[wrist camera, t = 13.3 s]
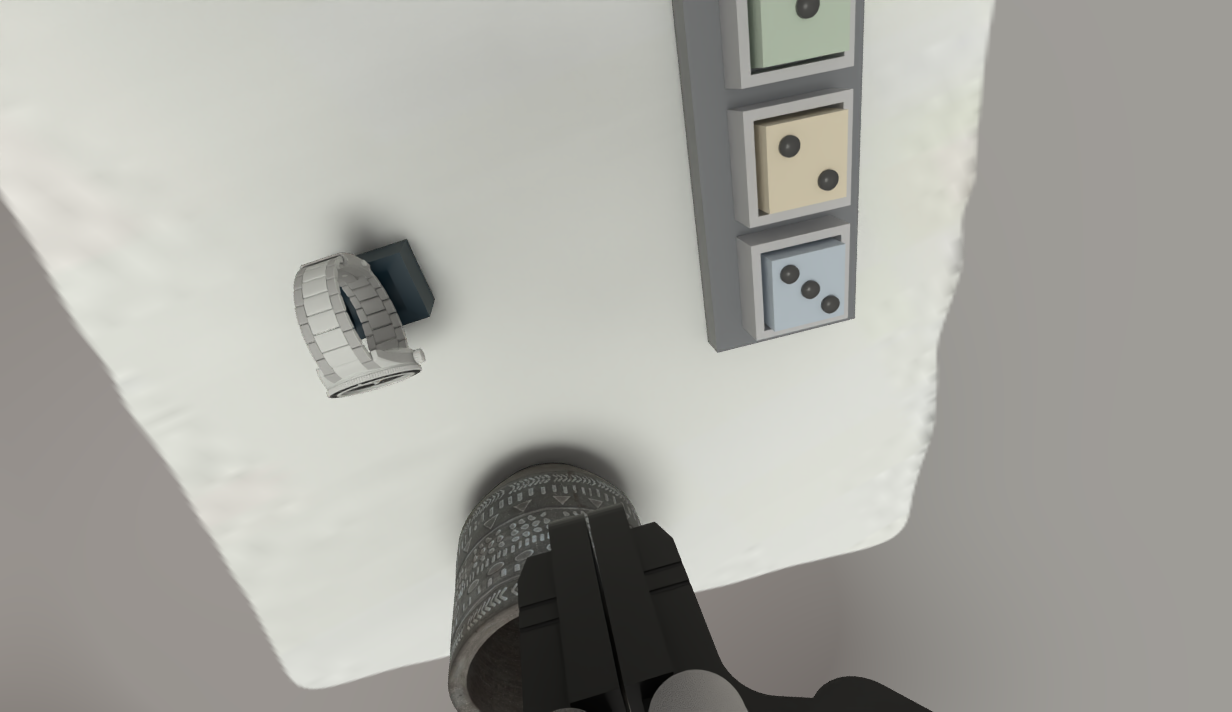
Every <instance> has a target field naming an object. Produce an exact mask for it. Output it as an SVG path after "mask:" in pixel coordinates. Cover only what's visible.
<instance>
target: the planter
mask: <svg viewBox="0 0 1232 712" xmlns="http://www.w3.org/2000/svg"><path fill="white" fill-rule="evenodd" d="M618 503H622V504H623V507H624V510H625V513H626V516H627V520H628V523H629V526H630V529H631V528H634V527H638V526H641V524H640V521H639V519H638V516H637V513H636V511H635V509H634V507H633V505H632V503H631V502H630V501H629V499H628V498H627V497H626V496H625V495H624V494H623V493H622V492H621V491H620V490H619V489H618V488H617V487H615V486H614V485H612V484H611V483H609V482H608V481H606V480H604V479H603V478H601V477H599V476H597V475H595V474H593V473H591V472H588V471H586V470H583V469H580V468H577V467H574V466H571V465H567V464H561V463H545V464H538V465H534V466H531V467H527V468H525V469H523V470H520V471H518V472H517V473H515V474H513V475H512V476H510V477H509V478H507V479H506V480H504V481H503V482H502V483H500V484H499V485H498V486H497V487H495V488H494V489H493V490H492V491H491V492H490V493H489V494H488V495H486V496H485V497H484V498H483V499H482V500H481V502H480V503H479V504H478V505H477V506H476V507H475V508H474V510H473V511H472V512H471V514H470V515H469V517H468V518H467V520H466V522H465V524H464V526H463V528H462V531H461V534H460V538H459V544H458V552H457V561H456V584H455V597H454V608H453V620H452V633H451V648H450V664H449V676H448V689H449V694H450V698H451V701H452V703H453V705H454V707H455V708H456V710H457V711H458V712H523V697H522V676H521V654H520V629H519V608H518V588H517V581H518V579H519V576H520V574H521V571H522V569H523V566H524V564H525V561H526V559H527V557H530V556H534V555H538V554H541V553H545V552H548V551H551V547H550V539H549V530H548V523H549V522H553V521H556V520H560V519H564V518H567V517H571V516H575V515H578V514H582V513H584V515H585V518H586V522H587V526H588V529H589V533H590V537H591V541H592V544H593V548H594V543H593V538H592V534H591V529H590V524H589V520H588V515H587V512H589V511H592V510H596V509H600V508H603V507H607V506H611V505H614V504H618ZM594 552H595V548H594ZM595 556H596V552H595ZM596 559H597V557H596ZM597 563H598V562H597ZM598 567H599V566H598ZM628 703H629V702H628ZM629 707H630V705H629ZM630 712H631V709H630Z"/></svg>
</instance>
